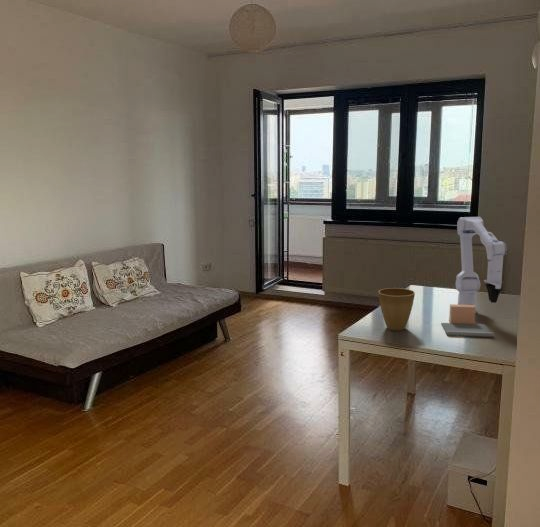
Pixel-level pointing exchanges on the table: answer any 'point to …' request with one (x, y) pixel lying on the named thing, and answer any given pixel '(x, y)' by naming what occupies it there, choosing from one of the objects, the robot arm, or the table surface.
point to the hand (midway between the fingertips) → (492, 301)
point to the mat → (467, 330)
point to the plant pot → (396, 307)
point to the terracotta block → (462, 314)
